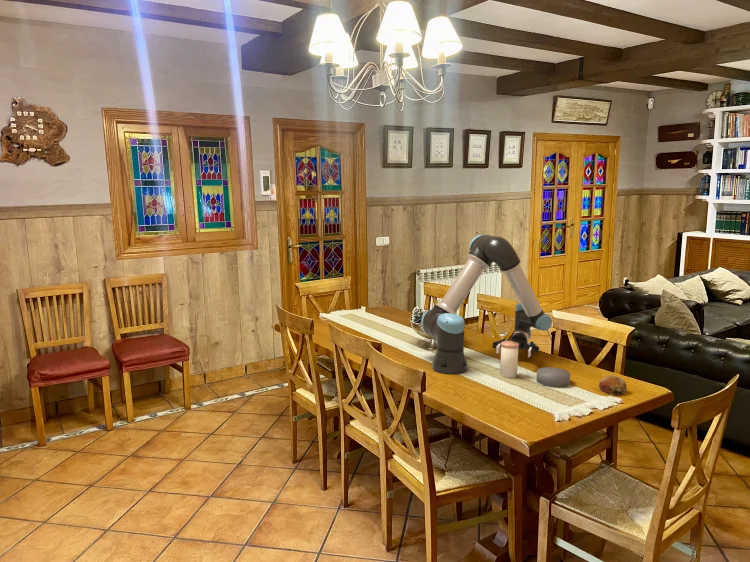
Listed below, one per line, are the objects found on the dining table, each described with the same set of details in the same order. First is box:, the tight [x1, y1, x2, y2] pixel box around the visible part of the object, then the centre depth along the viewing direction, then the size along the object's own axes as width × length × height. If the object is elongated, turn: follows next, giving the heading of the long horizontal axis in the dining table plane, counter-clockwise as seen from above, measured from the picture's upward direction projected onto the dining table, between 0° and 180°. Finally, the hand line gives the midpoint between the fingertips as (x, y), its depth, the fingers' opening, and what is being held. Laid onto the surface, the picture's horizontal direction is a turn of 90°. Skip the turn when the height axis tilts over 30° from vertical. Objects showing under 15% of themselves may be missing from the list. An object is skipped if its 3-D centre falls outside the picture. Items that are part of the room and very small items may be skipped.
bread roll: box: [598, 374, 628, 396], centre depth 216 cm, size 10×10×8 cm
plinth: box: [536, 366, 571, 388], centre depth 225 cm, size 13×13×4 cm
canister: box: [499, 340, 519, 379], centre depth 232 cm, size 7×7×14 cm
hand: (512, 352), depth 239 cm, fingers open, 13 cm apart
